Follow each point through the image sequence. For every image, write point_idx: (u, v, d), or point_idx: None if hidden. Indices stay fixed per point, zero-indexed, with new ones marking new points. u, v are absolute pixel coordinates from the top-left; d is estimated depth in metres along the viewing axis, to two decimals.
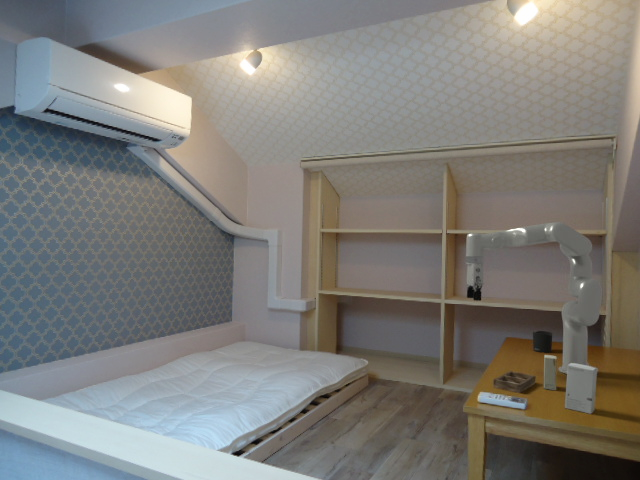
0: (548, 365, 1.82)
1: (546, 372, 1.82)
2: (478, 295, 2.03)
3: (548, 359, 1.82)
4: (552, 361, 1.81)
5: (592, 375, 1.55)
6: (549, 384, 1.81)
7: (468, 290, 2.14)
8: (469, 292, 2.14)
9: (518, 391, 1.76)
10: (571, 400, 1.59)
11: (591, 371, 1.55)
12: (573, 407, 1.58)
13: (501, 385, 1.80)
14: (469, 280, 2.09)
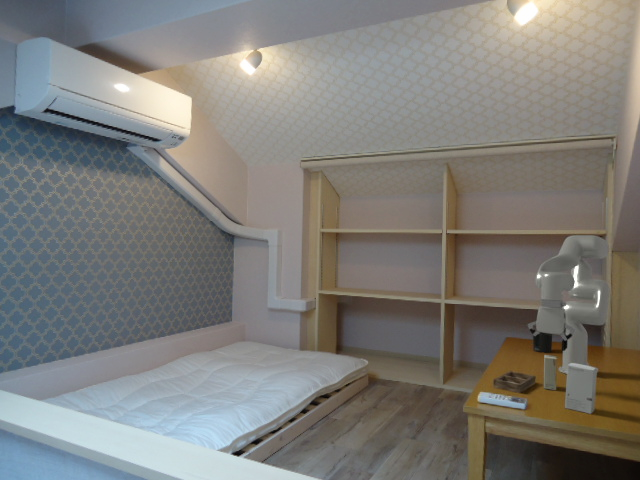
0: (548, 365, 1.82)
1: (546, 372, 1.82)
2: (566, 344, 1.80)
3: (548, 359, 1.82)
4: (552, 361, 1.81)
5: (592, 375, 1.55)
6: (549, 384, 1.81)
7: (537, 338, 1.86)
8: (537, 340, 1.86)
9: (518, 391, 1.76)
10: (571, 400, 1.59)
11: (591, 371, 1.56)
12: (573, 407, 1.58)
13: (501, 385, 1.80)
14: (549, 327, 1.82)
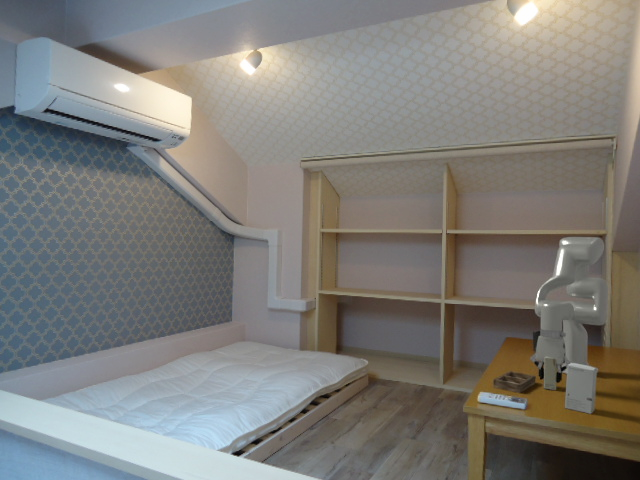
0: (548, 365, 1.82)
1: (546, 372, 1.82)
2: (561, 376, 1.81)
3: (548, 359, 1.82)
4: (552, 361, 1.81)
5: (592, 375, 1.55)
6: (549, 384, 1.81)
7: (541, 371, 1.85)
8: (542, 373, 1.85)
9: (518, 391, 1.76)
10: (571, 400, 1.59)
11: (591, 371, 1.56)
12: (573, 407, 1.58)
13: (501, 385, 1.80)
14: None
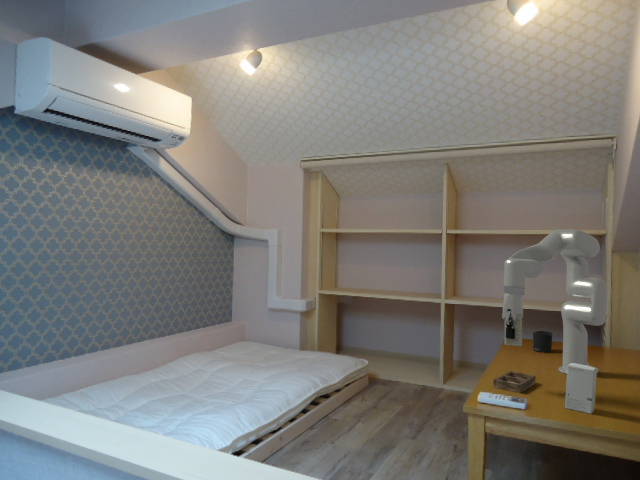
0: (521, 321, 1.81)
1: (521, 329, 1.81)
2: None
3: (521, 315, 1.81)
4: None
5: (592, 375, 1.55)
6: None
7: None
8: None
9: (518, 391, 1.76)
10: (571, 400, 1.59)
11: (591, 371, 1.56)
12: (573, 407, 1.58)
13: (501, 385, 1.80)
14: None
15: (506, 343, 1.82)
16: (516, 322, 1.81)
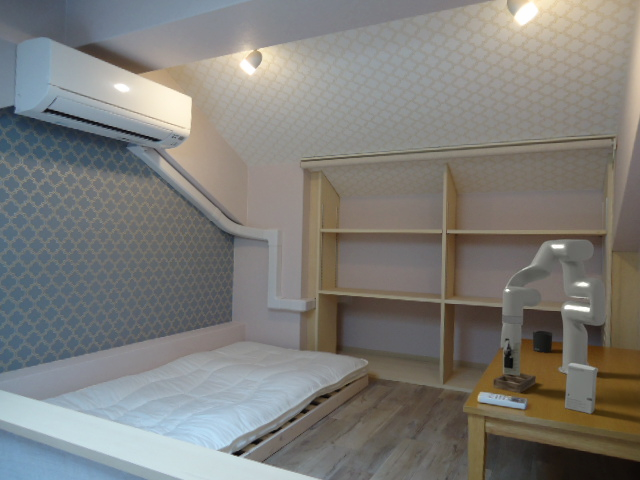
0: None
1: None
2: None
3: None
4: None
5: (592, 375, 1.55)
6: None
7: None
8: None
9: (518, 391, 1.76)
10: (571, 400, 1.59)
11: (591, 371, 1.56)
12: (573, 407, 1.58)
13: (501, 385, 1.80)
14: None
15: (504, 372, 1.82)
16: (514, 351, 1.80)
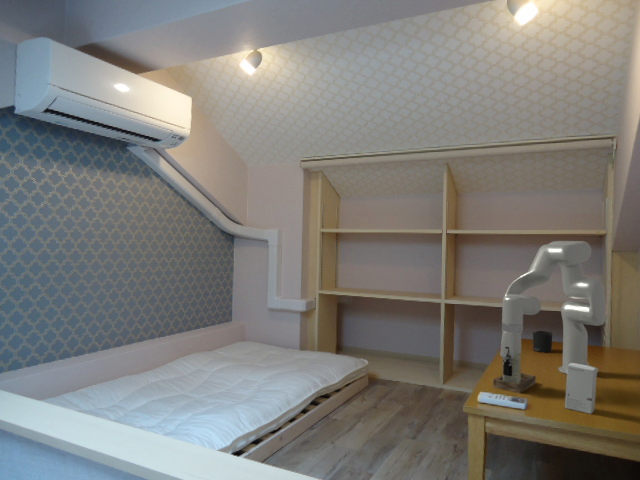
0: (520, 362, 1.81)
1: (519, 370, 1.80)
2: None
3: (519, 356, 1.81)
4: (520, 357, 1.82)
5: (592, 375, 1.55)
6: (520, 380, 1.81)
7: None
8: None
9: (518, 391, 1.76)
10: (571, 400, 1.59)
11: (591, 371, 1.55)
12: (573, 407, 1.58)
13: (501, 385, 1.80)
14: (517, 351, 1.81)
15: None
16: (514, 362, 1.80)
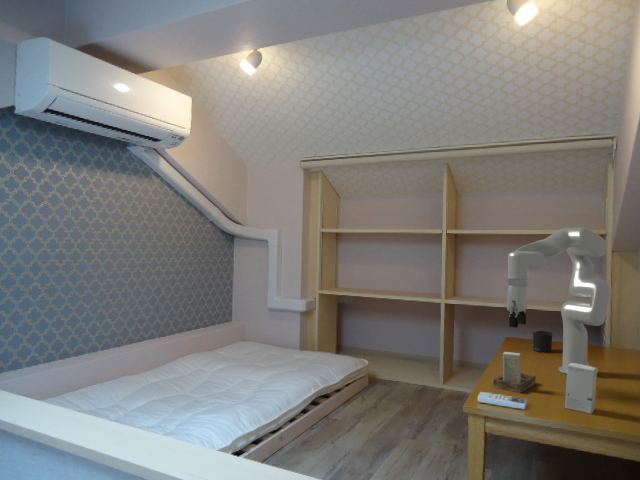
0: (520, 362, 1.81)
1: (520, 370, 1.80)
2: None
3: (520, 356, 1.81)
4: (520, 357, 1.82)
5: (592, 375, 1.55)
6: (520, 380, 1.81)
7: None
8: None
9: (518, 391, 1.76)
10: (571, 400, 1.59)
11: (591, 371, 1.56)
12: (573, 407, 1.58)
13: (501, 385, 1.80)
14: (523, 305, 1.87)
15: None
16: (514, 362, 1.80)
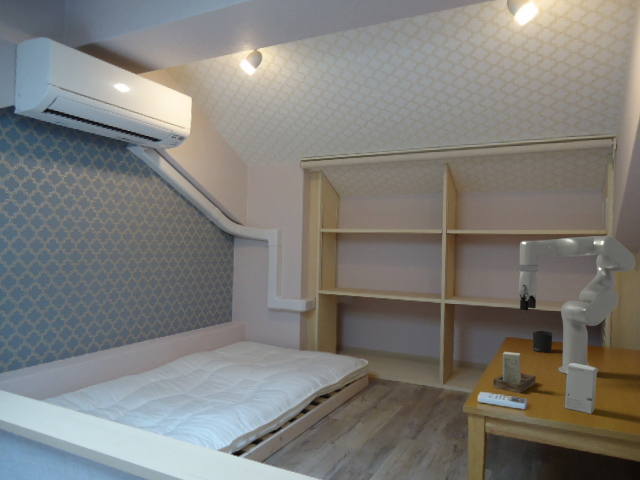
0: (520, 362, 1.81)
1: (520, 370, 1.80)
2: None
3: (520, 356, 1.81)
4: (520, 357, 1.82)
5: (592, 375, 1.55)
6: (520, 380, 1.81)
7: None
8: None
9: (518, 391, 1.76)
10: (571, 400, 1.59)
11: (591, 371, 1.56)
12: (573, 407, 1.58)
13: (501, 385, 1.80)
14: (534, 290, 2.01)
15: None
16: (514, 362, 1.80)
